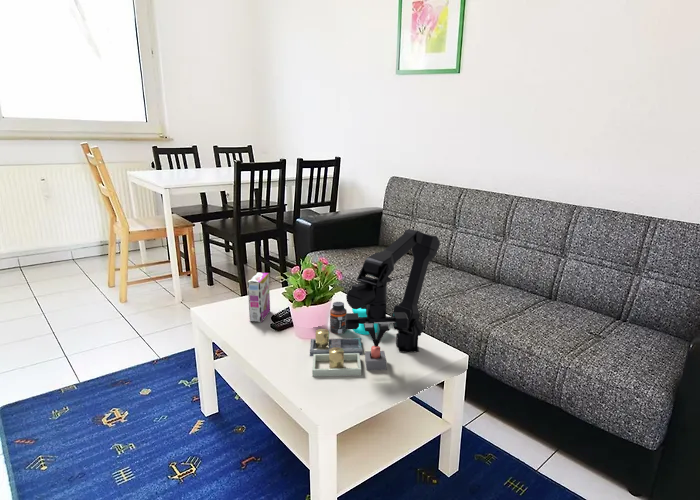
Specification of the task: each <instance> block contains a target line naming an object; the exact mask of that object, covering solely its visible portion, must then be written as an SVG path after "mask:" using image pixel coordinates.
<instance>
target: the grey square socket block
mask: <svg viewBox="0 0 700 500" xmlns="http://www.w3.org/2000/svg"><path fill="white" fill-rule="evenodd" d="M364 362H365V369H366V371H387V357H386V353H385V350H380V358H378V359H373V358H372V357H371V350H368V351H364Z"/></svg>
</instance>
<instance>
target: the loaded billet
mask: <svg viewBox="0 0 700 500" xmlns="http://www.w3.org/2000/svg"><path fill="white" fill-rule="evenodd" d="M315 339H316V349H329V339H330V330H328V329H327V328H318V329H316V330H315Z"/></svg>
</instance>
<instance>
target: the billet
mask: <svg viewBox="0 0 700 500" xmlns="http://www.w3.org/2000/svg"><path fill="white" fill-rule="evenodd" d="M328 362H329V367H328V369H335V368H345V364H344V363H345V360H344V350H343V349H342V348H339V347H334V348H331V349H330V350H329V361H328Z"/></svg>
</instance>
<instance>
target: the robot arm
mask: <svg viewBox="0 0 700 500" xmlns="http://www.w3.org/2000/svg"><path fill="white" fill-rule="evenodd" d="M440 246H441V243H440V240H439V237H438V236H437V235H433V234H427V233H423V232H422V231H420V230H416V229H411V228H408V229H405V231H404V232H403V234H402V235H400V236H399V237H397V239H395V240H394V241H393V242H392V243H391V244H390V245H389V246H388V247H386V248H385V249H384V250H382V251H379V252H375V253H373V254H371V255H369V256H367V258H366V259H365V260H364V262H363V265H362V267H361V270H360V271H359V274H358V276H357V278H356V281H358V282H359V283H355V284H352V285H351V289H349V290H348V291H347V294H346V295H345V296H346V297H345V298H346V299H345V300H346V302H347V304H348V306H349V307H350V308H353V309H359V308H361V309H366V315H367V317H358V313H353V312H352V313H351V312H350V313H348V312H347V314H346V315H345V327H346V329H347V330H353V329H357V328H358V327H359V324H364V328H365V331H368V332H369V334H370V337H371V340H372V342H373V346H375V347H378V346H379V344H380V342H381V340H382V338H383V336H384V335H385V334H386V332H389V331H390V324H392V327H393V330H397V333H395V334H396V336H395V345H396V348H397V350H398V352H399V353H417V352H420V351H419V336H421V335H422V334H423V331H424V328H425V326H424V324H423V323H421V321H420V314H421V313H420V309H419V306H418V304H419V300H420V296H421V292H422V289H423V284H424V281H425V278H426V275H427V270H428V266H429V263H430V262H431V261H433V259H434V258H435V257H437V252H438V251H439V248H440ZM410 250H411V254H412V257H413V260H412V261H413V262H412V264H411V269H410V272H409V276H408V280H407V282H406V287H405V291H404V294H403V299H402V301H401V302H400V303H399V304H396V305H395V306H394V307H393V312H392V314H391V316H387V299H388V298H387V294H388V293H387V291H388V290H387V289H388V283H390V282H391V281H392V278H390V275H391V274H392V272H393V271H394V270H395V264H396V263H397V262H398V261H399V260H401V258H403V257H404V256H405V255H406V254H407V253H408V252H409V251H410ZM369 276H370V277H369ZM374 323H378V328H377V333H375V328H374Z"/></svg>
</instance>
